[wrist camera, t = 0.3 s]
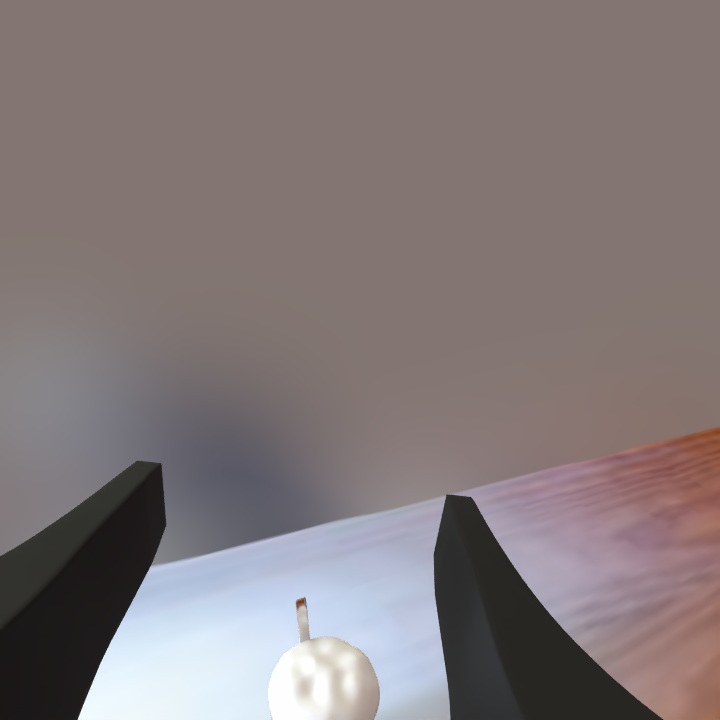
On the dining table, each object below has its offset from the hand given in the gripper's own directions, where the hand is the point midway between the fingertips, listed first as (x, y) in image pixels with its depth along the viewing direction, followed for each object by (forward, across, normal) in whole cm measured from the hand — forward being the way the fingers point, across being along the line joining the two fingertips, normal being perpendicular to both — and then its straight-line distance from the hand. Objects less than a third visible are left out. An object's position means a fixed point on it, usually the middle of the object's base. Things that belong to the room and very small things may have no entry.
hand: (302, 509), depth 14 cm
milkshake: (+4, -1, +21) cm, 21 cm away
